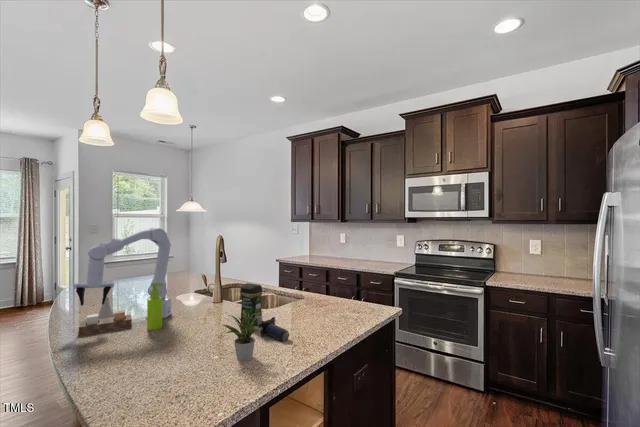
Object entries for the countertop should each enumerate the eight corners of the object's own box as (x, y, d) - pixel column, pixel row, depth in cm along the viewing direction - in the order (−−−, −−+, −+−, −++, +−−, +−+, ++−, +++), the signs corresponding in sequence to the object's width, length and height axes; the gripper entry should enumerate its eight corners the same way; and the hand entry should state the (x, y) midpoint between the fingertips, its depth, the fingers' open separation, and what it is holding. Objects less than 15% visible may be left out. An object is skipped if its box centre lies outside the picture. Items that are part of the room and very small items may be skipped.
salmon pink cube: (124, 319, 147) (124, 310, 147) (125, 322, 144) (124, 312, 144) (114, 321, 145) (114, 311, 145) (114, 323, 142) (114, 313, 142)
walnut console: (130, 321, 151) (130, 314, 151) (131, 327, 143) (131, 319, 143) (80, 329, 140) (80, 321, 140) (78, 335, 133) (78, 327, 133)
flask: (118, 315, 160) (118, 295, 160) (107, 320, 153) (107, 299, 153) (104, 315, 161) (104, 295, 161) (93, 319, 154) (93, 299, 154)
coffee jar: (237, 325, 145) (237, 284, 145) (249, 320, 152) (249, 281, 152) (253, 328, 140) (253, 286, 140) (265, 323, 147) (265, 283, 147)
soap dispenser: (158, 330, 138) (157, 284, 138) (144, 329, 140) (144, 284, 140) (167, 326, 144) (167, 282, 144) (153, 325, 145) (153, 281, 146)
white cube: (98, 323, 142) (98, 313, 142) (98, 326, 138) (98, 316, 138) (87, 325, 140) (87, 315, 140) (86, 328, 136) (86, 317, 136)
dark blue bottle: (259, 339, 131) (280, 348, 123) (257, 322, 130) (278, 330, 122) (275, 329, 138) (296, 337, 130) (273, 313, 137) (294, 320, 129)
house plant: (250, 345, 122) (250, 302, 122) (275, 354, 113) (274, 308, 113) (217, 358, 111) (217, 311, 111) (242, 369, 102) (241, 318, 102)
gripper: (73, 274, 134) (70, 307, 133) (113, 274, 141) (111, 305, 140) (76, 272, 140) (73, 303, 139) (115, 272, 147) (113, 301, 146)
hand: (92, 304), depth 140 cm, fingers open, 7 cm apart
